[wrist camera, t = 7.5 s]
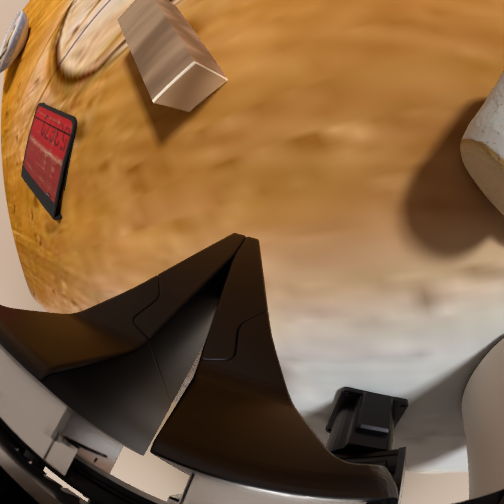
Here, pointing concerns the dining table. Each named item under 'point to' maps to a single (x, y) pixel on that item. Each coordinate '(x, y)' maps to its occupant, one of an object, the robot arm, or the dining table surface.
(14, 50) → the ramen bowl
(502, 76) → the ceramic mug
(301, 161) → the dining table surface
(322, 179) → the dining table surface
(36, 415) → the robot arm
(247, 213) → the dining table surface
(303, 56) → the dining table surface
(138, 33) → the walnut block
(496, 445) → the cylinder vase
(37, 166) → the binder
